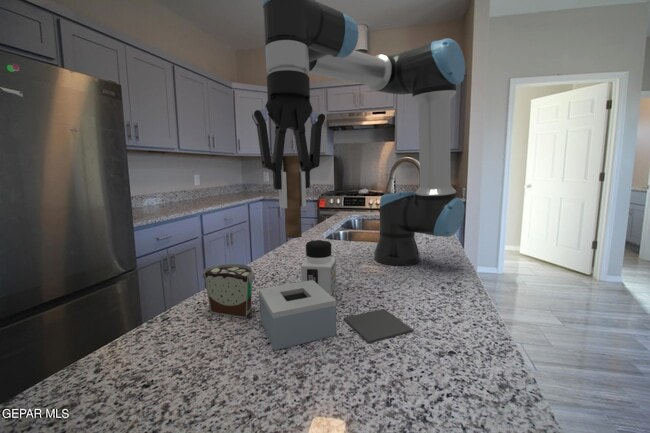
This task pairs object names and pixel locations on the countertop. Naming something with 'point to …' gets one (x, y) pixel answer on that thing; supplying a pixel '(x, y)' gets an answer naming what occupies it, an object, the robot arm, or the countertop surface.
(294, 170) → the stylus
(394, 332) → the pad
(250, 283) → the food container
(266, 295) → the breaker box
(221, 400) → the countertop surface
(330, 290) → the container
